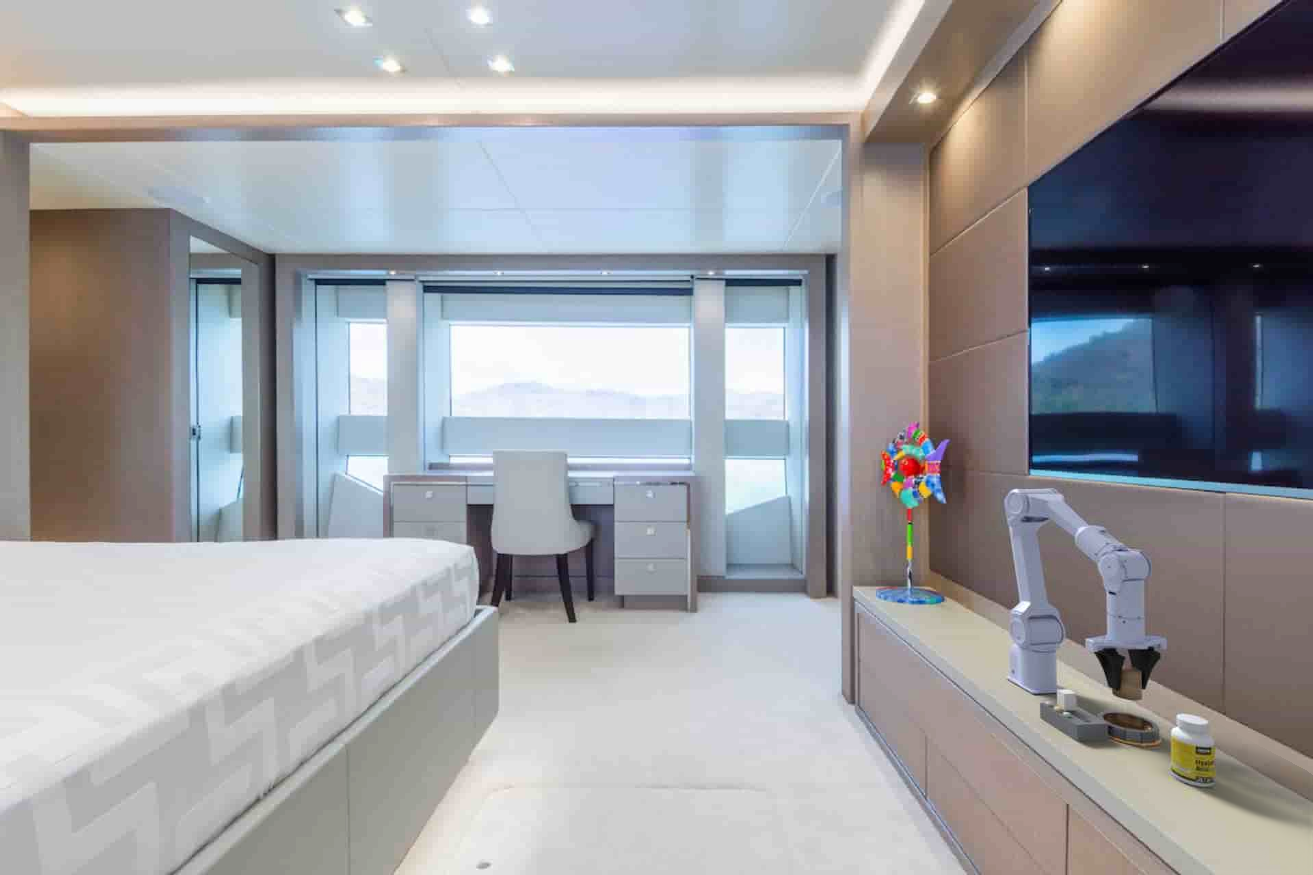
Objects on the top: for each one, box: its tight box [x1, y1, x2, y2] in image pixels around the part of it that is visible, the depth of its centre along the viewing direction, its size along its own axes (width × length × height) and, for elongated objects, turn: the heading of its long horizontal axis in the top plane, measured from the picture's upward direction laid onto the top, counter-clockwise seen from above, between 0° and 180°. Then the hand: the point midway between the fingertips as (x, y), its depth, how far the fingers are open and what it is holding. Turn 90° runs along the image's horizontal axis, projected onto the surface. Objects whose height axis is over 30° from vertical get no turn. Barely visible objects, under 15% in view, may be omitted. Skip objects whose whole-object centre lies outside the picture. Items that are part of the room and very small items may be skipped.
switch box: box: [1039, 700, 1109, 742], centre depth 122 cm, size 10×6×4 cm, turn 4°
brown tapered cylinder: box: [1111, 664, 1143, 701], centre depth 120 cm, size 4×4×5 cm
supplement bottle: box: [1170, 713, 1216, 788], centre depth 103 cm, size 5×5×10 cm
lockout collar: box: [1096, 710, 1163, 747], centre depth 119 cm, size 10×10×2 cm
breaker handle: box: [1056, 688, 1077, 711], centre depth 123 cm, size 2×2×3 cm
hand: (1126, 687), depth 120 cm, fingers closed on brown tapered cylinder, 4 cm apart
